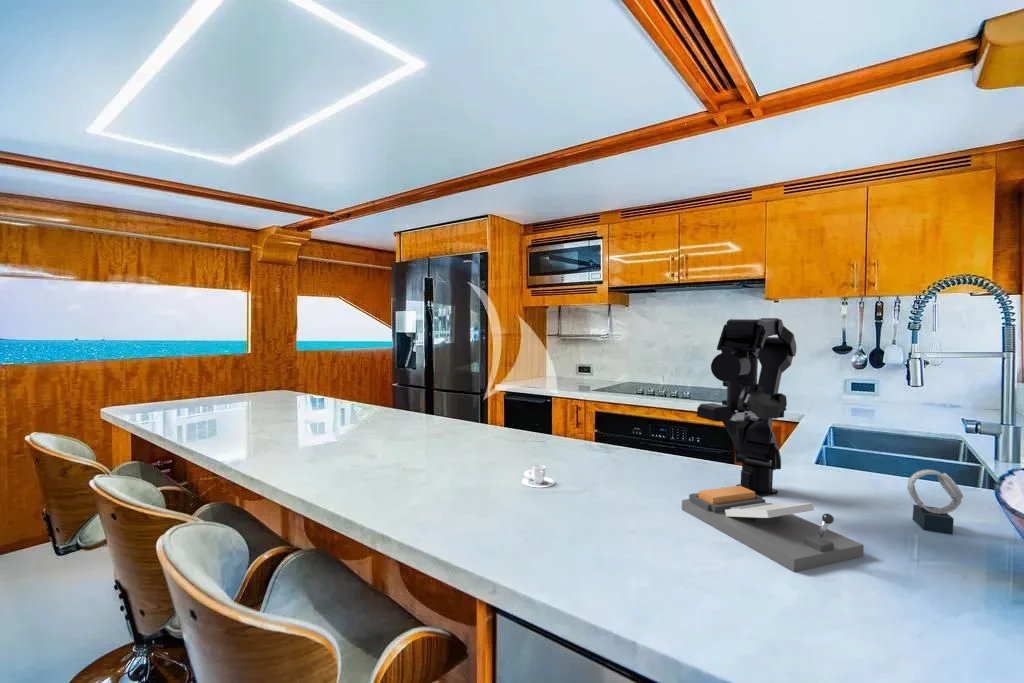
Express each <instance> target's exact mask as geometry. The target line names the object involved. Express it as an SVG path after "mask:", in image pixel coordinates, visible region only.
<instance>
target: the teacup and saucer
mask: <svg viewBox="0 0 1024 683" xmlns="http://www.w3.org/2000/svg"><path fill="white" fill-rule="evenodd" d="M523 475H524V478H523V479H522V480H521V483H522V484H523V485H525V486H527V487H530V488H541V489H542V488H549V487H552V486H554V485H555V484H556V482H555V480H553V479H552V478H550V477H547V476H546V466H545V465H542V464H539V465H538V464H537V465H533V466H532V469H528V470H526V471H524V473H523ZM530 480H531V481H533V482H534V484H539V485H533V484H531V483H529V481H530ZM544 481H546V482H548V484H545V485H540V484H543V483H544Z"/></svg>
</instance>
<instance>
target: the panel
mask: <svg viewBox="0 0 1024 683" xmlns="http://www.w3.org/2000/svg"><path fill="white" fill-rule="evenodd" d="M759 503H766V499H765V498H763V496H762V495H761V496H758V495H756V494H755V498H754V499H747V500H740V501H733V502H726V503H720V504H711V503H709V502H707V501H705V500H703V499H701V498H699V492H695V493H689V494H688V498H686V499H682V500H681V510H682V511H683V512H685V513H687V514H689V515H691V516H693V517H695V518H696V519H698V520H700V521H702V522H703V523H706V524H707V525H709V526H711V527H713V528H715V529H716V530H719V531H720V532H721V533H723V534H725V535H727V536H728V537H730V538H733V540H736V541H738V542H740V543H741V544H743V545H745V546H747V547H748V548H750V549H751V550H754V551H756V552H757V553H759V554H761V555H763V556H765V557H766V558H768V559H770V560H772V561H774V562H775V563H777V564H779V565H780V566H782V567H784V568H786V569H787V570H790V571H792V572H793V573H794V572H795V573H796V572H800V571H803V570H804V571H805V570H808V569H813V568H818V567H822V566H826V565H830V564H835V563H839V562H844V561H849V560H853V559H857V558H862V557H864V545H865V544H864V543H863V544H862V543H861V542H859V541H856V540H853V539H851V538H849V537H847V536H844V535H841V534H839V533H837V532H835V531H832V530H830V529H828V528H827V530H826V532H825V534H824V536H823V537H822V538H819V537H818V536H817V533H818V530H819V528H820V526H821V525H819V524H816V523H814V522H812V521H809V520H807V519H804V518H803V517H800V516H797V514H789V515H783V516H777V517H771V518H757V517H730V516H726V513H725V510H727V509H731V508H733V507H739V506H746V505H753V504H759Z"/></svg>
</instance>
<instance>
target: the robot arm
mask: <svg viewBox="0 0 1024 683" xmlns="http://www.w3.org/2000/svg"><path fill="white" fill-rule="evenodd" d="M722 327H723V328H722V331H721V333H720V337H719V340H718V344H717V347H716V350H717V351H721V353H719V354H717V355H716V356H714V358H713V359H712V362H711V364H710V370H711V373H712V375H713V376H714V378H716V379H717V380H719V381H721V382H722V387H724V388H725V387H726V399H722V401H721V404H718V403H714V402H712V403H708V402H707V403H700V404H699V405H698V406H697V409H696V410H697V412H696V417H697V418H702V419H706V420H709V421H712V422H719V423H720V422H721V423H723V426H724V428H725V429H726V431H727V433H728V435H729V437H730V439H731V442H732V444H733V445H734V458H735V463H736V464H741V470H740V483H739V484H736V485H735V486H742V487H744V488H747V489H749V490H752V491H754V492H755V494H756V495H758V496H761V497H762V496H767V495H773V494H774V495H775V494H778V493H779V490H777V489H774V488H773V480H774V478H773V477H774V471H776V470H781V469H782V456H781V453H780V450H779V446H778V444H777V438H776V436H775V434H774V432H773V430H772V425H773V421H774V420H777V419H779V418H784V417H785V411H787V405H788V404H787V395H785V394H783V393H781V392H779V390H780V384H781V380H782V374H783V373H784V372H785V371H786V370H787V369H789V368H790V367H791V365H792V362H793V358H794V357H796V354H797V343H796V338H795V335H794V333H793V332H792V331H790V330H789V329H788V328H787V327H785V326H784V323H783V320H782V319H780V318H777V317H767V318H766V317H764V318H763V317H762V318H761V317H760V319H750V318H749V319H746V318H745V319H744V318H743V319H742V318H737V319H735V318H733V319H731V318H730V319H728V320H727V321H726V324H724V325H723V326H722ZM772 336H773V337H772ZM776 336H777V337H776ZM758 362H759V363H760V365H761V368H760V370H758V368H759V366H758V365H759V363H758ZM758 371H760V372H759V377H758ZM778 392H779V393H778Z"/></svg>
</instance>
